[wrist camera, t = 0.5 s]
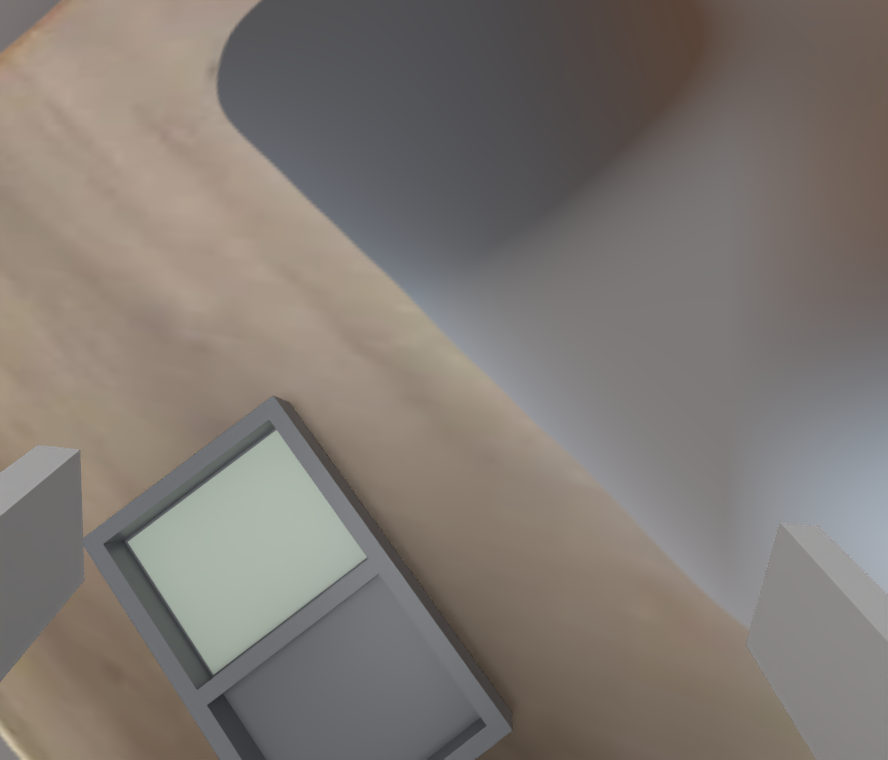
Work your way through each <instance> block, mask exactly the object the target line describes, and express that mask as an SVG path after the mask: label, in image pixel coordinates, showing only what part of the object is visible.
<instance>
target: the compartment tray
mask: <svg viewBox="0 0 888 760" xmlns="http://www.w3.org/2000/svg"><path fill="white" fill-rule="evenodd" d="M83 546H84V547H85V549H86V550H87V552H88V554H89V555H90V557H91V558H92V560H93V561H94V563H95V565H96V566H97V568H98V569H99V571H100V572H101V574H102V576H103V577H104V579H105V580H106V582H107V583H108V585H109V587H110V588H111V590H112V591H113V593H114V594H115V596H116V597H117V599H118V601H119V602H120V604H121V605H122V607H123V608H124V610H125V612H126V613H127V615H128V616H129V618H130V619H131V621H132V623H133V624H134V626H135V627H136V629H137V630H138V632H139V634H140V635H141V637H142V638H143V640H144V641H145V643H146V645H147V646H148V648H149V649H150V651H151V652H152V654H153V656H154V657H155V659H156V660H157V662H158V663H159V665H160V666H161V668H162V670H163V671H164V673H165V674H166V676H167V677H168V679H169V681H170V682H171V684H172V685H173V687H174V688H175V690H176V692H177V693H178V695H179V696H180V698H181V699H182V701H183V703H184V704H185V706H186V707H187V709H188V710H189V712H190V714H191V715H192V717H193V718H194V720H195V721H196V723H197V725H198V726H199V728H200V729H201V731H202V732H203V734H204V735H205V737H206V739H207V740H208V742H209V743H210V745H211V746H212V748H213V750H214V751H215V753H216V754H217V756H218V757H219V759H220V760H475V759H477V758H478V757H479V756H480V755H482V754H483V753H484V752H486V751H487V750H488V749H489V748H491V747H492V746H493V745H495V744H496V743H497V742H498V741H500V740H501V739H502V738H504V737H505V736H506V735H507V734H509V733H510V732H511V731H512V730H513V727H512V713H511V710H510V709H509V707H508V706H507V705H506V703H505V702H504V700H503V699H502V698H501V696H500V695H499V694H498V692H497V691H496V689H495V688H494V687H493V685H492V684H491V682H490V681H489V680H488V678H487V677H486V675H485V674H484V673H483V671H482V670H481V668H480V667H479V666H478V664H477V663H476V662H475V660H474V659H473V657H472V656H471V655H470V653H469V652H468V650H467V649H466V648H465V646H464V645H463V643H462V642H461V641H460V639H459V638H458V636H457V635H456V634H455V632H454V631H453V630H452V628H451V627H450V625H449V624H448V623H447V621H446V620H445V618H444V617H443V616H442V614H441V613H440V611H439V610H438V609H437V607H436V606H435V604H434V603H433V602H432V600H431V599H430V598H429V596H428V595H427V593H426V592H425V591H424V589H423V588H422V586H421V585H420V584H419V582H418V581H417V579H416V578H415V577H414V575H413V574H412V572H411V571H410V570H409V568H408V567H407V566H406V564H405V563H404V561H403V560H402V559H401V557H400V556H399V554H398V553H397V552H396V550H395V549H394V547H393V546H392V545H391V543H390V542H389V540H388V539H387V538H386V536H385V535H384V534H383V532H382V531H381V529H380V528H379V527H378V525H377V524H376V522H375V521H374V520H373V518H372V517H371V515H370V514H369V513H368V511H367V510H366V508H365V507H364V506H363V504H362V503H361V502H360V500H359V499H358V497H357V496H356V495H355V493H354V492H353V490H352V489H351V488H350V486H349V485H348V483H347V482H346V481H345V479H344V478H343V476H342V475H341V474H340V472H339V471H338V470H337V468H336V467H335V465H334V464H333V463H332V461H331V460H330V458H329V457H328V456H327V454H326V453H325V451H324V450H323V449H322V447H321V446H320V444H319V443H318V442H317V440H316V439H315V437H314V436H313V435H312V433H311V432H310V431H309V429H308V428H307V426H306V425H305V424H304V422H303V421H302V419H301V418H300V417H299V415H298V414H297V412H296V411H295V410H294V408H293V407H292V405H291V404H290V403H289V402H287V401H285V400H282V399H280V398H278V397H275V396H272V397H271V398H269V399H268V400H267V401H265V402H264V403H263V404H261V405H260V406H259V407H257V408H256V409H255V410H253V411H252V412H251V413H249V414H248V415H247V416H245V417H244V418H243V419H241V420H240V421H239V422H237V423H236V424H235V425H233V426H232V427H231V428H229V429H228V430H227V431H225V432H224V433H223V434H221V435H220V436H219V437H217V438H216V439H215V440H213V441H212V442H211V443H209V444H208V445H207V446H205V447H204V448H203V449H201V450H200V451H199V452H197V453H196V454H195V455H193V456H192V457H191V458H189V459H188V460H187V461H185V462H184V463H183V464H181V465H180V466H179V467H177V468H176V469H175V470H173V471H172V472H171V473H169V474H168V475H167V476H165V477H164V478H163V479H161V480H160V481H159V482H157V483H156V484H155V485H153V486H152V487H151V488H149V489H148V490H147V491H145V492H144V493H143V494H141V495H140V496H139V497H137V498H136V499H135V500H133V501H132V502H131V503H129V504H128V505H127V506H125V507H124V508H123V509H121V510H120V511H119V512H117V513H116V514H115V515H113V516H112V517H111V518H109V519H108V520H107V521H105V522H104V523H103V524H101V525H100V526H99V527H97V528H96V529H95V530H93V531H92V532H91V533H89V534H88V535H87V536H85V537H84V538H83Z"/></svg>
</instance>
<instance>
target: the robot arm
mask: <svg viewBox="0 0 888 760" xmlns="http://www.w3.org/2000/svg"><path fill="white" fill-rule="evenodd" d="M83 581H84V553H83V522H82V491H81V461H80V449H70V448H60V447H51V446H41V445H37V446H36V447H35V448H33V449H32V450H31V451H29V452H28V453H26V454H25V455H24V456H22V457H21V458H20V459H18V460H17V461H16V462H14V463H13V464H11V465H10V466H9V467H7V468H6V469H5V470H3V471H2V472H1V473H0V682H1V680H2V679H3V678H4V677H5V676H6V674H7V673H8V672H9V671H10V670H11V668H12V667H13V666H14V665H15V664H16V662H17V661H18V660H19V659H20V657H21V656H22V655H23V654H24V653H25V651H26V650H27V649H28V648H29V647H30V645H31V644H32V643H33V642H34V641H35V639H36V638H37V637H38V636H39V635H40V633H41V632H42V631H43V630H44V629H45V627H46V626H47V625H48V624H49V622H50V621H51V620H52V619H53V618H54V616H55V615H56V614H57V613H58V612H59V610H60V609H61V608H62V607H63V606H64V604H65V603H66V602H67V601H68V600H69V598H70V597H71V596H72V595H73V593H74V592H75V591H76V590H77V589H78V587H79V586H80V585H81V584H82V583H83ZM746 646H747V648H748V649H749V651H750V652H751V654H752V656H753V657H754V659H755V661H756V662H757V664H758V666H759V667H760V669H761V670H762V672H763V674H764V675H765V677H766V679H767V680H768V682H769V683H770V685H771V687H772V688H773V690H774V692H775V693H776V695H777V697H778V698H779V700H780V701H781V703H782V705H783V706H784V708H785V710H786V711H787V713H788V715H789V716H790V718H791V719H792V721H793V723H794V724H795V726H796V728H797V729H798V731H799V733H800V734H801V736H802V737H803V739H804V741H805V742H806V744H807V746H808V747H809V749H810V750H811V752H812V754H813V755H814V757H815V759H816V760H888V595H887V594H886V593H885V592H884V591H883V590H882V589H881V588H880V587H879V586H878V585H877V584H876V583H875V582H874V581H873V580H872V579H871V578H870V577H869V576H868V575H867V574H866V573H865V572H864V571H863V570H862V569H861V568H860V567H859V566H858V565H857V564H856V563H855V562H854V561H853V560H852V559H851V558H850V557H849V556H848V555H847V554H846V553H845V552H844V551H843V550H842V549H841V548H840V547H839V546H838V545H837V544H836V543H835V542H834V541H833V540H832V539H831V538H830V537H829V536H828V535H827V534H826V533H825V532H824V531H823V530H822V529H821V528H820V527H819V526H811V525H802V524H792V523H783V522H780V523H779V527H778V531H777V534H776V538H775V542H774V545H773V549H772V552H771V556H770V560H769V563H768V567H767V570H766V574H765V578H764V581H763V585H762V589H761V592H760V596H759V599H758V603H757V606H756V610H755V614H754V617H753V621H752V625H751V628H750V632H749V635H748V639H747V642H746Z"/></svg>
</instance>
